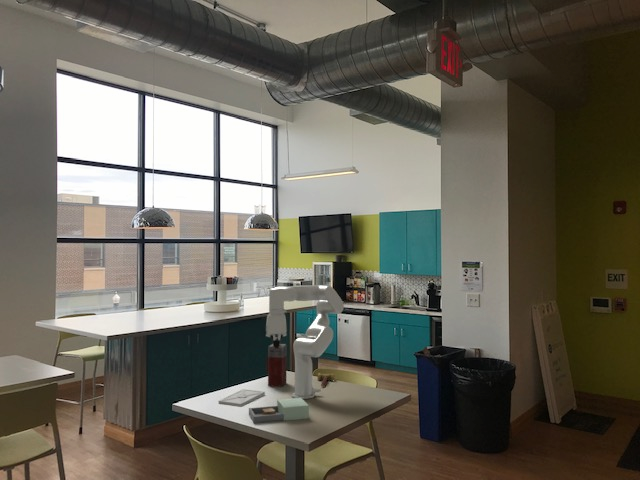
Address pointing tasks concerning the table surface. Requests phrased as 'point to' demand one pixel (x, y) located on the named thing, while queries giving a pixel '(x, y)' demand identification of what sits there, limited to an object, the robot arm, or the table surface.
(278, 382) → the red liquor decanter
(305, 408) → the mint green lidded box
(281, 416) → the tray
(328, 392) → the table surface
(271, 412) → the tile
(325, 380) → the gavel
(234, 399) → the envelope
